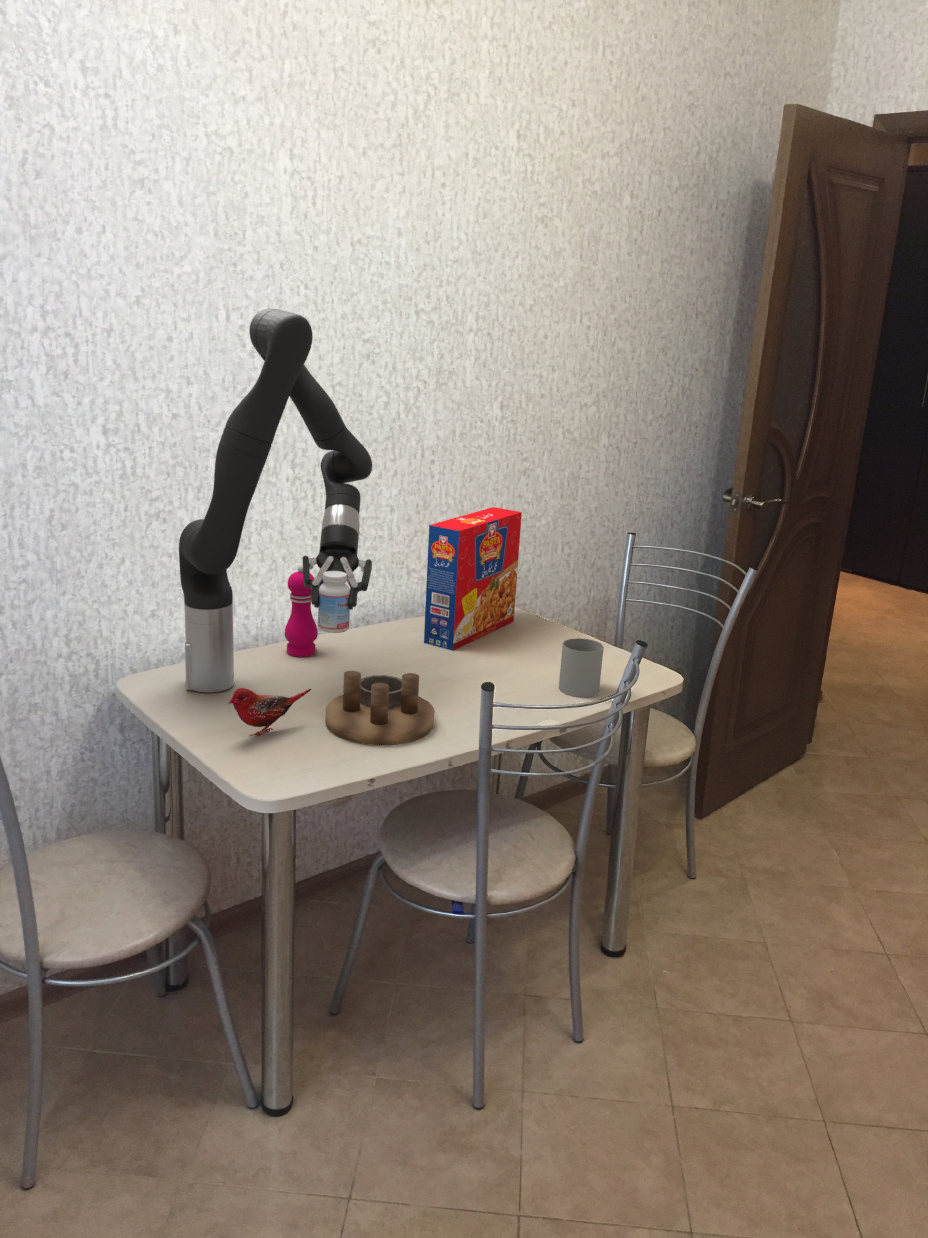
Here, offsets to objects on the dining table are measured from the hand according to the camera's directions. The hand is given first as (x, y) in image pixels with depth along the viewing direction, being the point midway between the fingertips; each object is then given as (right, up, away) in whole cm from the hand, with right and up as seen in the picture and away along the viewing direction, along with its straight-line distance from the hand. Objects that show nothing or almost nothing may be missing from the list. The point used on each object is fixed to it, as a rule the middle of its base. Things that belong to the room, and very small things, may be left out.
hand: (333, 606), depth 197 cm
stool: (+9, -22, -5) cm, 24 cm away
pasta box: (+27, -6, +48) cm, 56 cm away
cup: (+49, -17, +16) cm, 55 cm away
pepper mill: (-11, -10, +28) cm, 32 cm away
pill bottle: (0, -5, +3) cm, 6 cm away
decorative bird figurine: (-10, -23, -12) cm, 28 cm away
